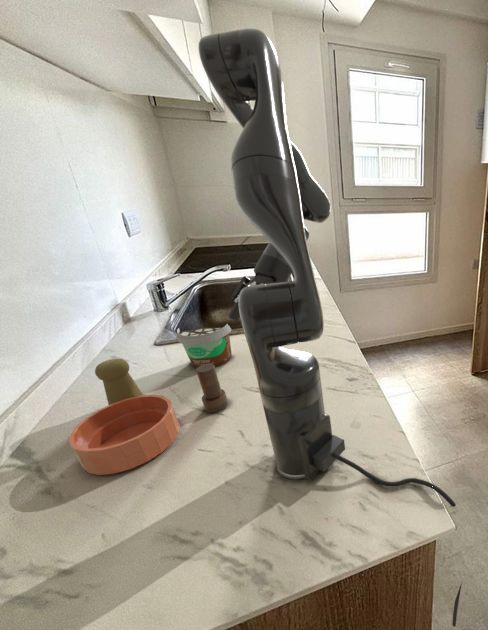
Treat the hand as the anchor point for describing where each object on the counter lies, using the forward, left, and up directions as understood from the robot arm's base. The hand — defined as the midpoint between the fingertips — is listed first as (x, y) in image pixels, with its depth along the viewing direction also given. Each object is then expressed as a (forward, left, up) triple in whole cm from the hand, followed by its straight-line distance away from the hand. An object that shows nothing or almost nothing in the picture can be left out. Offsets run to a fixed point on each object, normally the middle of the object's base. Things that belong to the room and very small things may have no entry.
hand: (244, 323), depth 74 cm
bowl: (+3, +24, -16) cm, 29 cm away
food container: (+17, +1, -16) cm, 23 cm away
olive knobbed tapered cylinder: (+17, +19, -16) cm, 30 cm away
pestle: (0, +10, -16) cm, 19 cm away
